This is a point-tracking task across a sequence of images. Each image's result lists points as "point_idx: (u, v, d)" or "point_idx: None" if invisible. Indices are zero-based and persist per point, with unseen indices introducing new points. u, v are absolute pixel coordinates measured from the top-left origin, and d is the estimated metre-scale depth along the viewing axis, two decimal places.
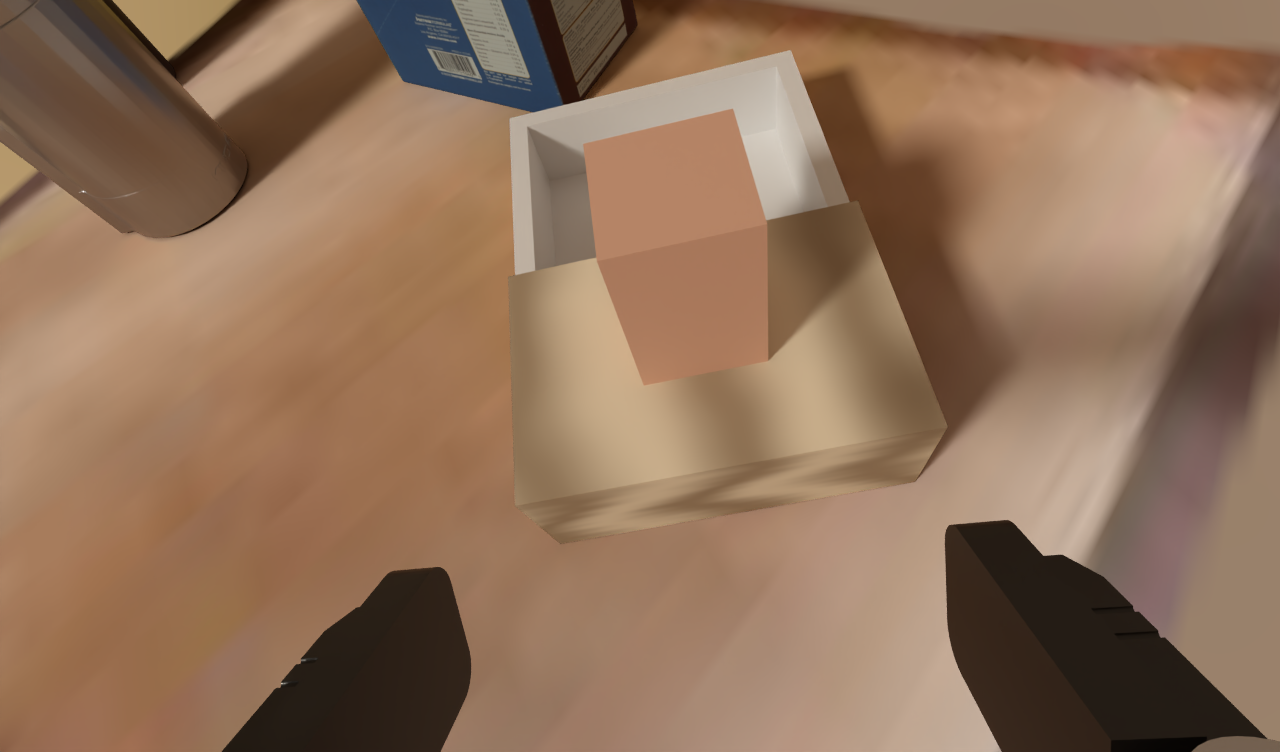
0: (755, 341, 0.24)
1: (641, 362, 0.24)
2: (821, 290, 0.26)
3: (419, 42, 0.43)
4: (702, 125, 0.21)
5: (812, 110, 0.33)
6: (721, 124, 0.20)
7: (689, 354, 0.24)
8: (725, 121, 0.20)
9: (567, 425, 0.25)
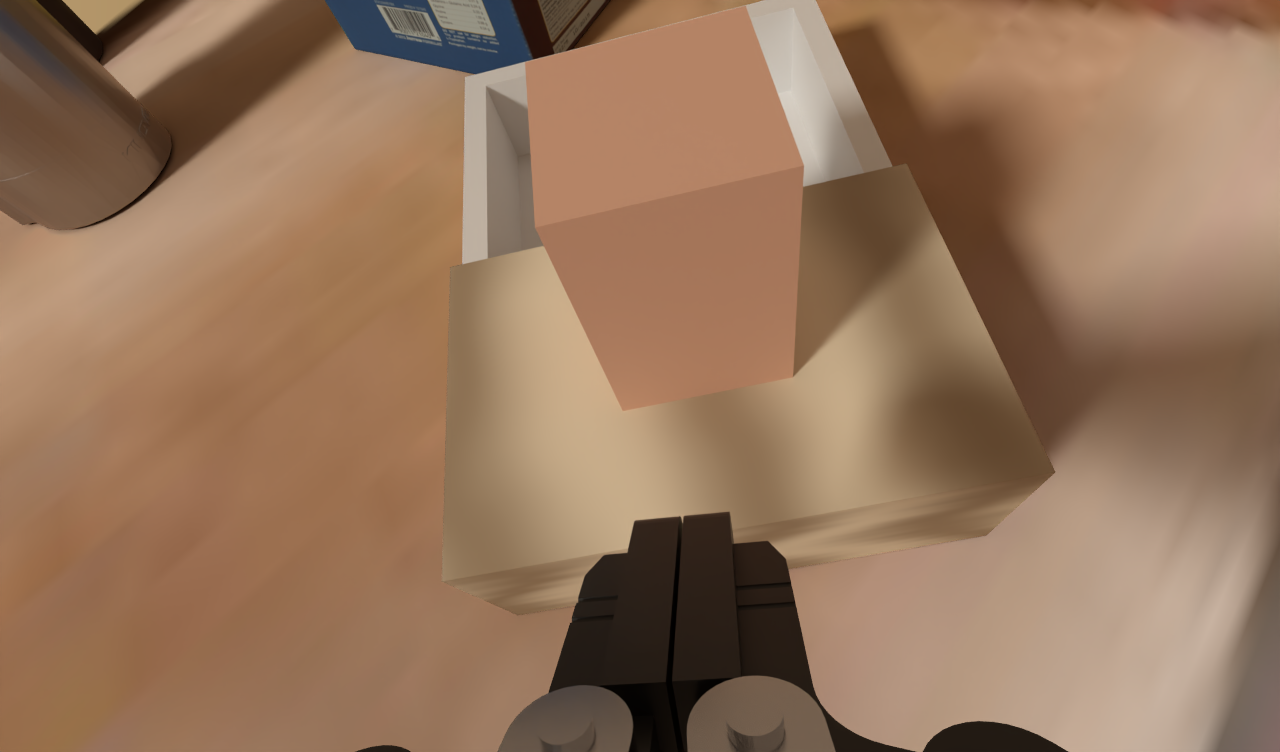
0: (776, 350, 0.17)
1: (617, 381, 0.17)
2: (862, 280, 0.19)
3: None
4: (700, 30, 0.14)
5: (840, 57, 0.26)
6: (728, 28, 0.14)
7: (684, 369, 0.17)
8: (734, 23, 0.14)
9: (518, 466, 0.19)
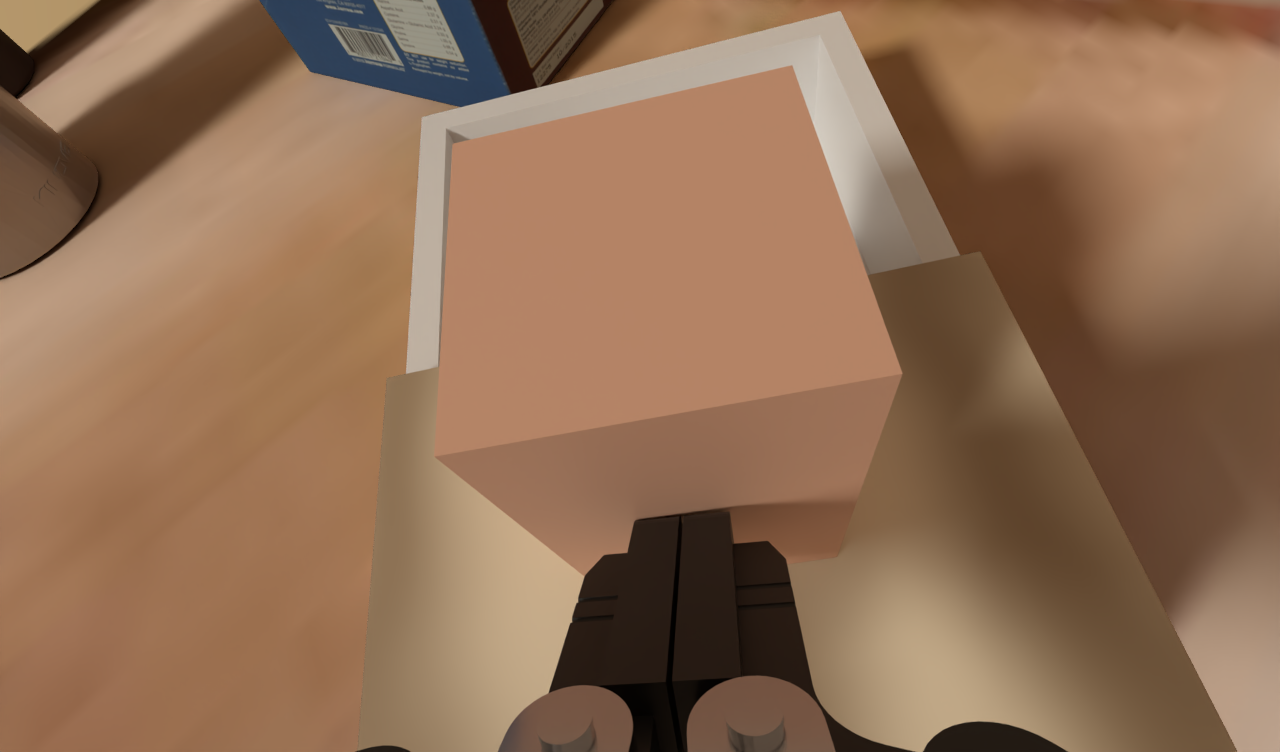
0: (818, 539, 0.12)
1: None
2: (930, 422, 0.14)
3: (316, 15, 0.32)
4: (720, 103, 0.09)
5: (881, 100, 0.21)
6: (765, 102, 0.09)
7: None
8: (775, 94, 0.09)
9: (461, 687, 0.13)
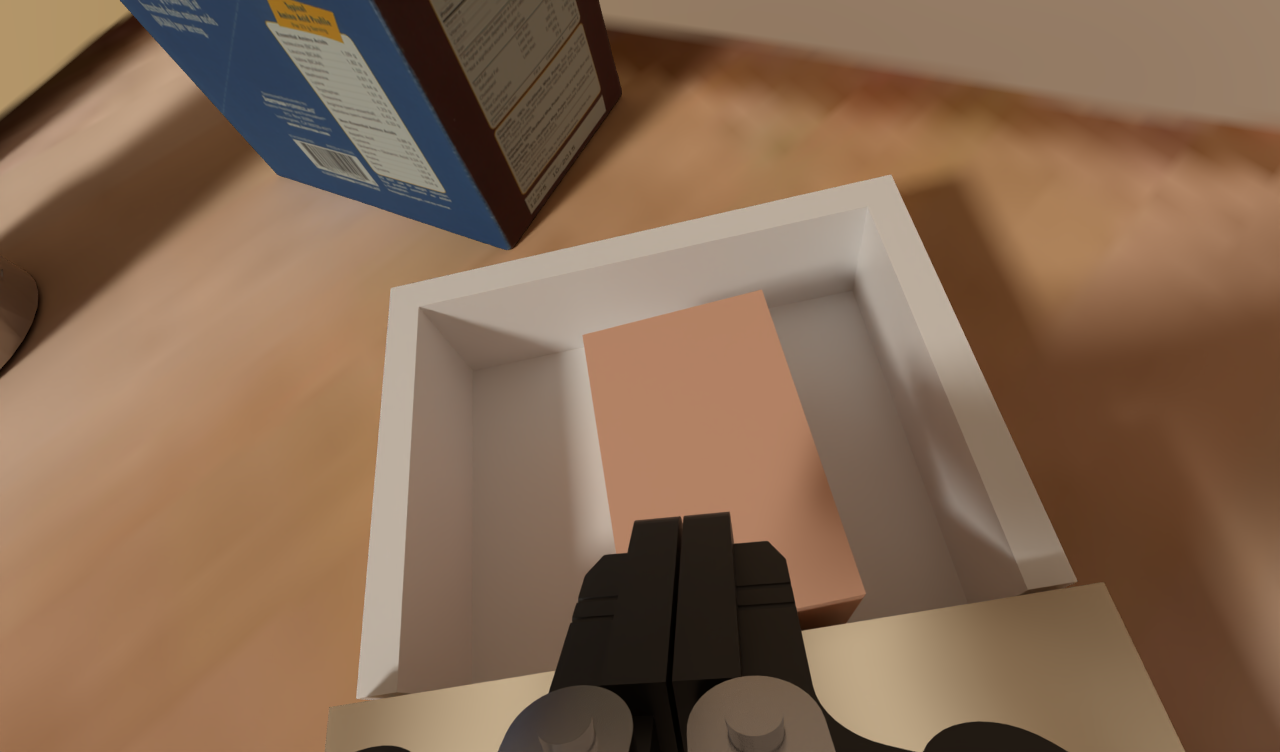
0: (817, 518, 0.14)
1: None
2: None
3: (279, 129, 0.28)
4: None
5: (949, 308, 0.17)
6: None
7: None
8: None
9: None
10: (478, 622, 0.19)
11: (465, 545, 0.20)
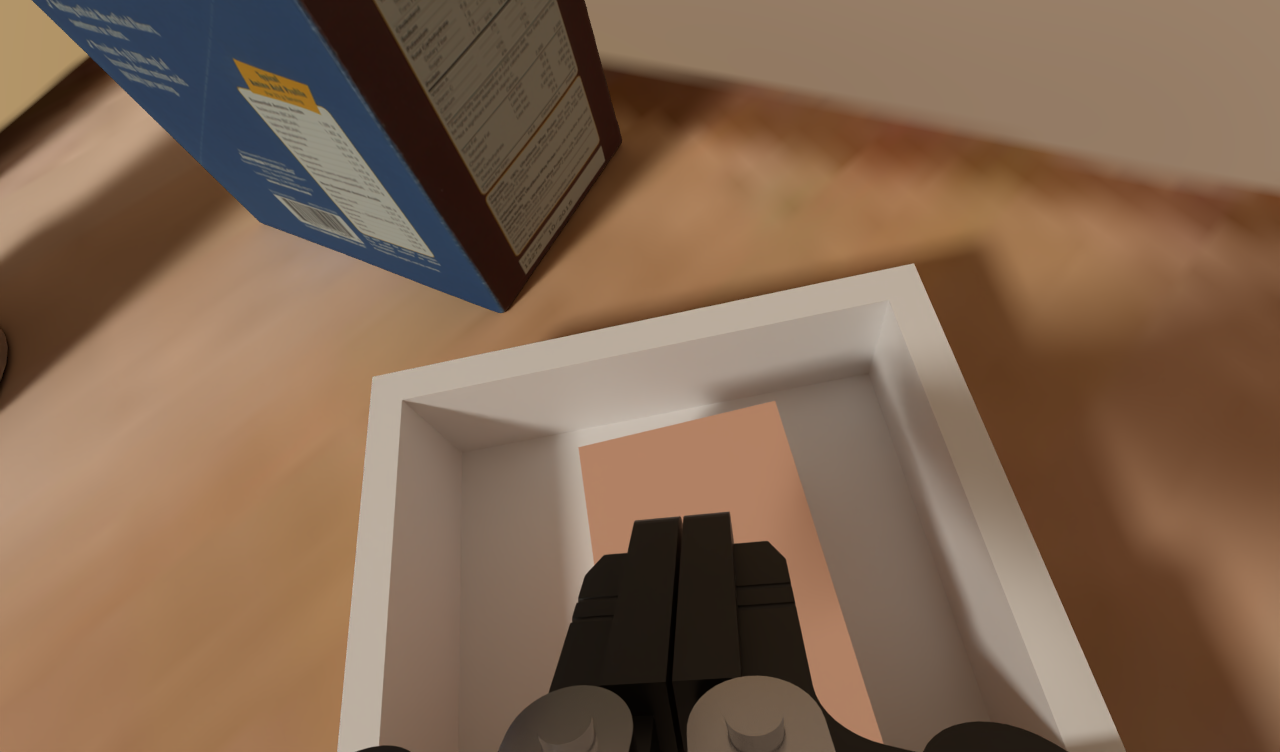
0: (839, 684, 0.13)
1: None
2: None
3: (259, 184, 0.26)
4: None
5: (980, 424, 0.15)
6: None
7: None
8: None
9: None
10: (465, 746, 0.18)
11: (452, 658, 0.19)
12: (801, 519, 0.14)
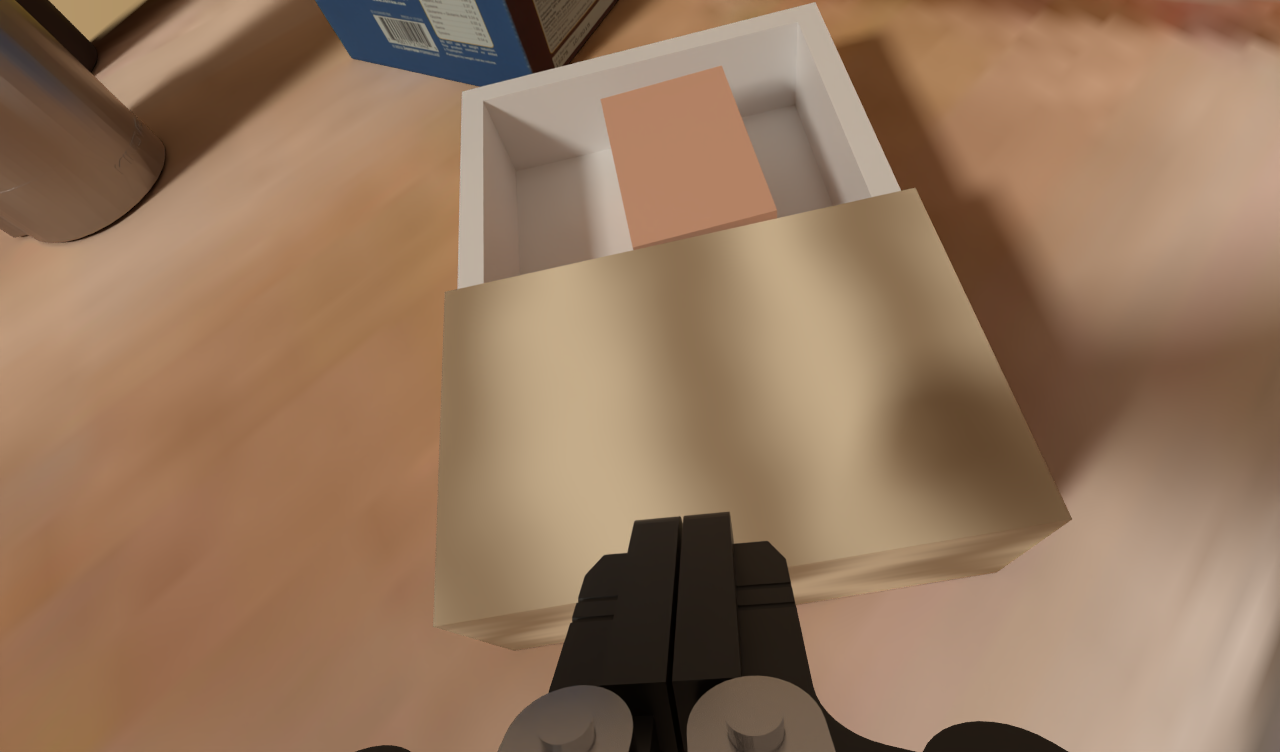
0: (750, 178, 0.22)
1: (630, 208, 0.23)
2: (869, 311, 0.19)
3: (363, 7, 0.36)
4: None
5: (846, 74, 0.25)
6: None
7: (681, 196, 0.23)
8: None
9: (513, 505, 0.18)
10: None
11: (516, 268, 0.28)
12: (733, 114, 0.24)
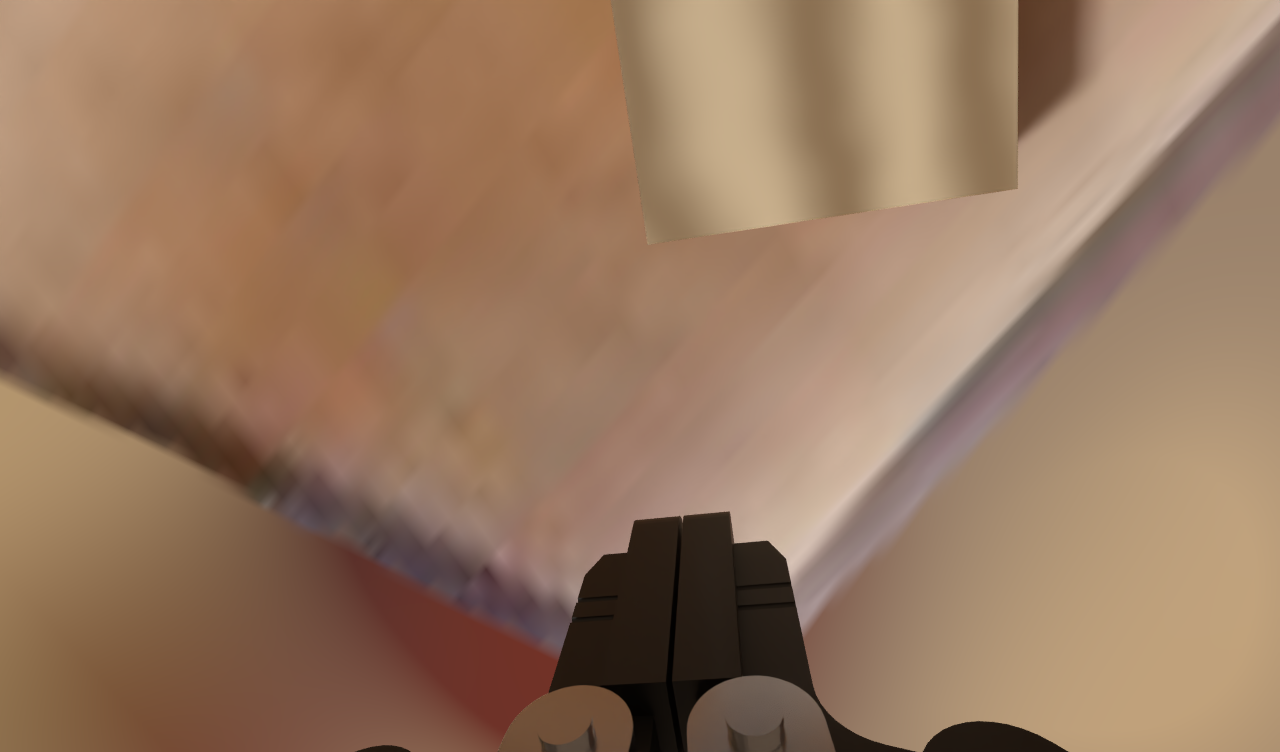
0: None
1: None
2: (946, 27, 0.26)
3: None
4: None
5: None
6: None
7: None
8: None
9: (687, 171, 0.28)
10: None
11: None
12: None
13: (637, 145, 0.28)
